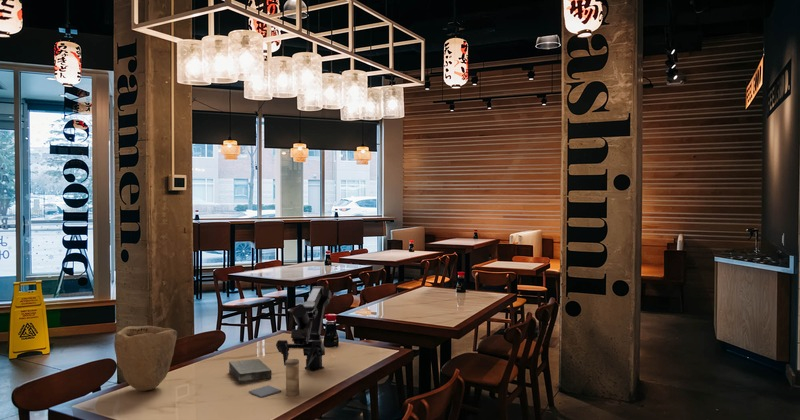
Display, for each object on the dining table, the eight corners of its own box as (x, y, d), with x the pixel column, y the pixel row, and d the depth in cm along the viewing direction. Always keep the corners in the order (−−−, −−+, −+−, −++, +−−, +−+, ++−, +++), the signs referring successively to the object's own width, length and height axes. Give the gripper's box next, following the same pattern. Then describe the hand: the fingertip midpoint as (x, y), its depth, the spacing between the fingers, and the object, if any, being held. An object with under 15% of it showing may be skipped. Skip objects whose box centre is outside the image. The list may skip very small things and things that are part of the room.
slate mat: (268, 386, 217) (268, 385, 217) (281, 391, 211) (281, 390, 211) (248, 392, 210) (248, 391, 210) (261, 397, 204) (261, 396, 204)
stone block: (239, 385, 220) (239, 373, 220) (228, 373, 237) (228, 361, 237) (272, 380, 227) (272, 368, 227) (259, 368, 244) (259, 357, 244)
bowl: (189, 386, 218) (188, 325, 218) (137, 404, 199) (136, 337, 199) (156, 378, 230) (155, 320, 230) (104, 393, 212) (103, 330, 211)
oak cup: (294, 390, 212) (293, 357, 212) (302, 393, 208) (301, 360, 208) (283, 394, 208) (282, 360, 208) (291, 397, 205) (290, 363, 204)
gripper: (277, 320, 220) (268, 354, 209) (321, 320, 218) (314, 355, 207) (283, 335, 228) (275, 368, 217) (326, 335, 226) (320, 369, 215)
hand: (296, 365), depth 213 cm, fingers open, 9 cm apart
